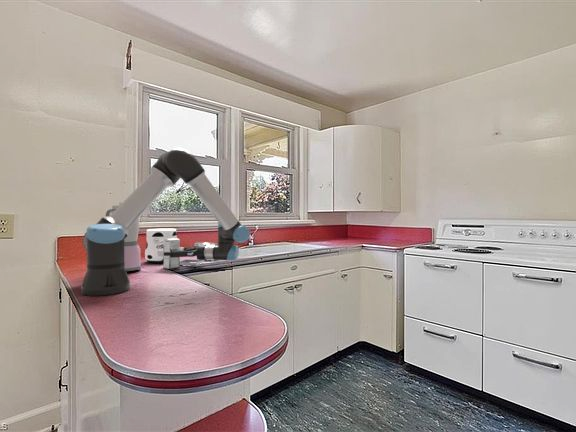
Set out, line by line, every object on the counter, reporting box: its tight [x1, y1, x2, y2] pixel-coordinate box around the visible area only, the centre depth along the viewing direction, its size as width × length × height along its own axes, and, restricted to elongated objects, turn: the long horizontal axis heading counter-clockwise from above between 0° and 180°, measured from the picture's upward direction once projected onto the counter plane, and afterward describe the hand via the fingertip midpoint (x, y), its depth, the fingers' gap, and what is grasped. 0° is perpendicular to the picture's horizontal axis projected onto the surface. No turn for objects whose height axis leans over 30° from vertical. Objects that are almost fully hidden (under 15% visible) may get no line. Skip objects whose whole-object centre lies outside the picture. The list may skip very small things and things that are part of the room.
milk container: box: [144, 228, 178, 264], centre depth 176 cm, size 17×17×18 cm
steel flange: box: [180, 259, 205, 267], centre depth 168 cm, size 12×12×2 cm
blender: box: [105, 202, 142, 272], centre depth 147 cm, size 16×12×32 cm
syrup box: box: [162, 237, 181, 270], centre depth 158 cm, size 6×6×14 cm
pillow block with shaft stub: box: [193, 242, 218, 260], centre depth 182 cm, size 6×12×10 cm, turn 84°
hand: (165, 251), depth 158 cm, fingers open, 13 cm apart
